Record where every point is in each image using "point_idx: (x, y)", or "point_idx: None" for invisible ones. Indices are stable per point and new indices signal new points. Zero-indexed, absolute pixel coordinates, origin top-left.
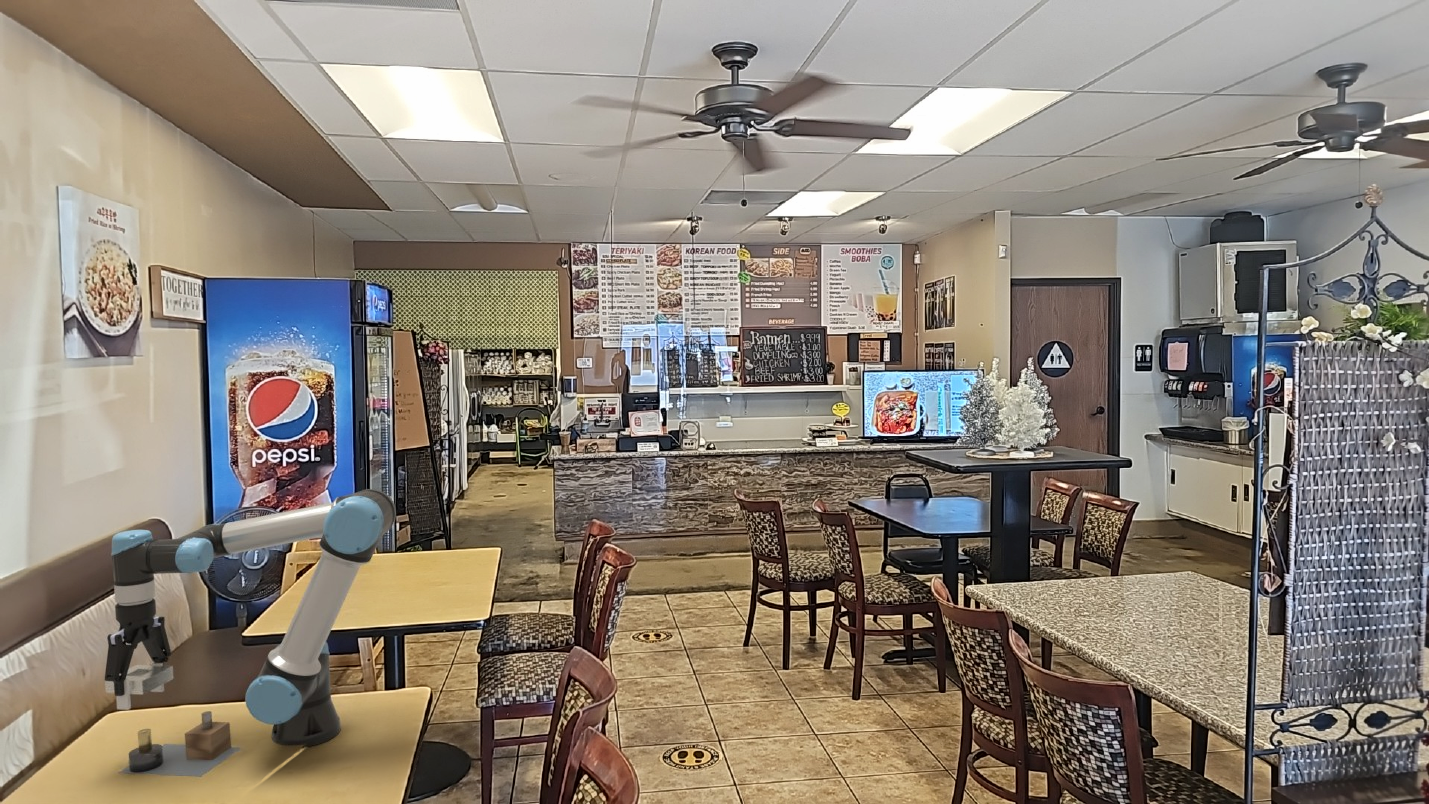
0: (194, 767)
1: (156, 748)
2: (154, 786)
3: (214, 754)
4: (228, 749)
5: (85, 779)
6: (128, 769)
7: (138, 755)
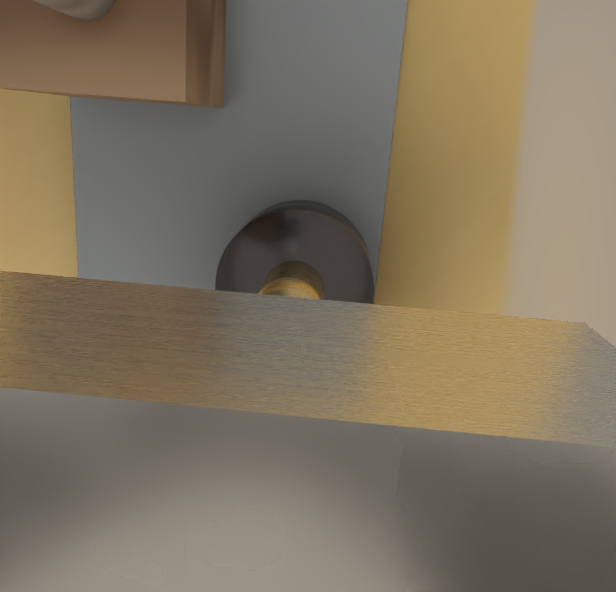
0: None
1: (267, 246)
2: (464, 112)
3: None
4: None
5: None
6: None
7: (353, 289)
